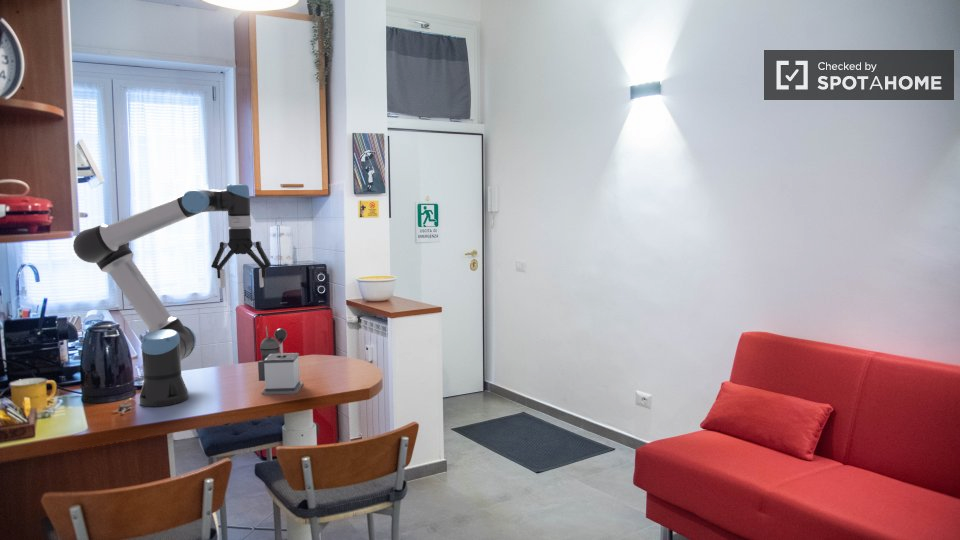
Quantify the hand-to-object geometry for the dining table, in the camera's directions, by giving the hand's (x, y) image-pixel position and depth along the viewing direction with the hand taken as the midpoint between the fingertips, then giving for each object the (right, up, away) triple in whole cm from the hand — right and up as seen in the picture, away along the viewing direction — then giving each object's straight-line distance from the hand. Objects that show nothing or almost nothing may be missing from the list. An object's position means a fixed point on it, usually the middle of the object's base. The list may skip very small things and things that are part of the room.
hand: (242, 287), depth 245 cm
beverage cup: (+5, -35, +17) cm, 39 cm away
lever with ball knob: (+14, -34, 0) cm, 37 cm away
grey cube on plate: (+13, -37, 0) cm, 39 cm away
